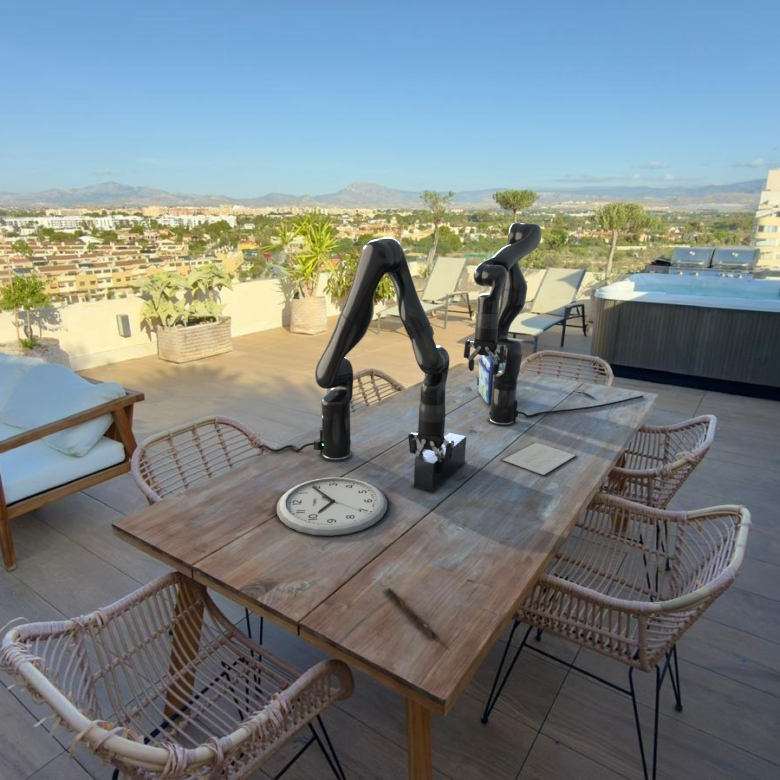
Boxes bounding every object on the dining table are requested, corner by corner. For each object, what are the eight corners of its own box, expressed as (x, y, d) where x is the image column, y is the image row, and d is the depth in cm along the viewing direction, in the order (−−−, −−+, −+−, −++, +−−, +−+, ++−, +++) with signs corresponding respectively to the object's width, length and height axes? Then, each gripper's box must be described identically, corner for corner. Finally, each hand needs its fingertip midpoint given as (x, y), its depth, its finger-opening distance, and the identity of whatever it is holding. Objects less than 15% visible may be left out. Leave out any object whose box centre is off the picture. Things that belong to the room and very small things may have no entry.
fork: (592, 399, 235) (592, 395, 235) (571, 389, 250) (572, 385, 249) (597, 399, 236) (597, 394, 235) (576, 388, 251) (576, 384, 250)
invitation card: (535, 442, 186) (575, 454, 176) (535, 442, 187) (575, 455, 176) (502, 459, 172) (543, 474, 162) (502, 460, 172) (543, 475, 162)
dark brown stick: (387, 592, 109) (387, 587, 109) (388, 591, 109) (388, 587, 109) (431, 637, 97) (431, 633, 97) (433, 636, 97) (433, 632, 97)
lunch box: (475, 390, 246) (478, 346, 240) (498, 390, 246) (501, 347, 240) (484, 408, 221) (487, 360, 215) (509, 409, 221) (513, 360, 215)
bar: (447, 458, 173) (449, 432, 171) (464, 462, 170) (466, 436, 168) (413, 487, 154) (414, 458, 151) (432, 492, 151) (433, 463, 148)
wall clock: (392, 527, 129) (268, 531, 127) (391, 533, 130) (269, 537, 127) (383, 473, 158) (282, 475, 155) (383, 478, 158) (282, 480, 156)
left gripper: (403, 415, 149) (402, 468, 154) (449, 425, 142) (446, 481, 147) (415, 408, 155) (414, 459, 160) (460, 417, 149) (457, 471, 154)
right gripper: (462, 325, 175) (459, 371, 180) (503, 329, 168) (499, 378, 173) (471, 321, 181) (468, 367, 186) (511, 326, 174) (506, 373, 179)
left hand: (429, 469), depth 154 cm, fingers closed on bar, 6 cm apart
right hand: (483, 372), depth 180 cm, fingers open, 8 cm apart
